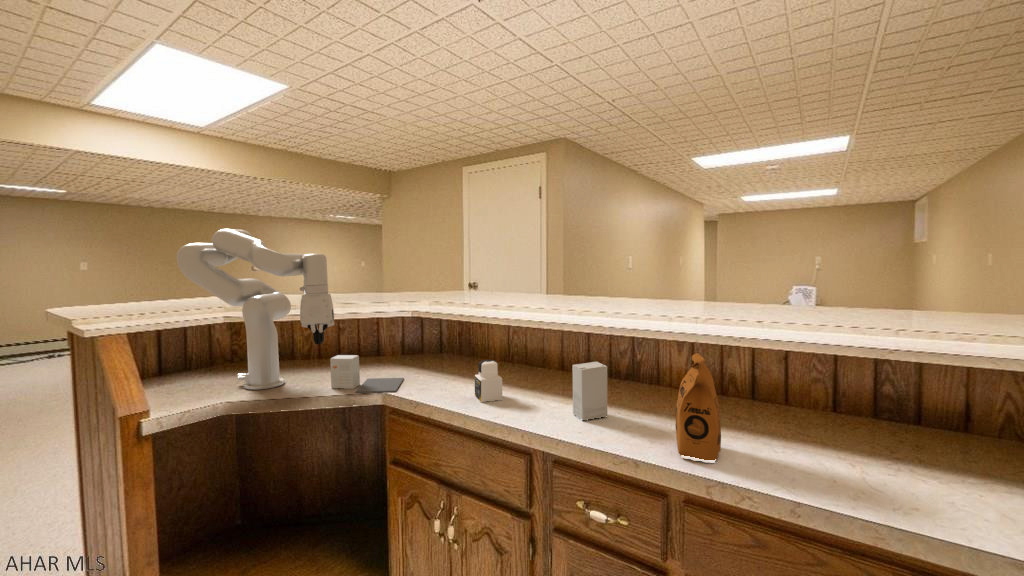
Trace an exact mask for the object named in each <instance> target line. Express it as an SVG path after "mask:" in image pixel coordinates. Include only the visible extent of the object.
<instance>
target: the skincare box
mask: <svg viewBox="0 0 1024 576" xmlns="http://www.w3.org/2000/svg"><path fill="white" fill-rule="evenodd" d="M573 414H574V415H576V416H577V417H579V418H580V419H582V420H587V419H593V420H595V419H594V418H599V419H602V418H601V417H605V418H607V417H608V366H607V365H605V364H603V363H600V362H599V361H592V362H591V361H590V362H586V363H585V362H583V363H576V364H572V415H573ZM574 415H573V416H574ZM576 416H575V417H576ZM606 416H607V417H606ZM577 417H576V418H577ZM579 418H578V419H579ZM580 419H579V420H580ZM587 421H588V420H587Z"/></svg>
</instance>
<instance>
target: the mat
mask: <svg viewBox="0 0 1024 576" xmlns="http://www.w3.org/2000/svg"><path fill="white" fill-rule="evenodd" d="M404 380H405V378H404V377H385V378H384V377H379V378H377V377H376V378H375V377H374V378H370V377H369V378H367V379H366V380H365V381H364V382H363V383H362V384H361V385H360V386H359V387H358V389H356V391H355V393H356V394H362V393H363V394H365V393H366V394H369V393H375V394H376V393H397V391H398V390H399V388H400V386H401V385H400V384H402V383H403V381H404ZM398 387H399V388H398Z"/></svg>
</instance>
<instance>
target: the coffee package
mask: <svg viewBox="0 0 1024 576" xmlns="http://www.w3.org/2000/svg"><path fill="white" fill-rule="evenodd" d="M691 360H692V362H693V364H692V365H691V368H690V369H689V370H688V371H687V373H686V374H685V375H684V377H683V378H682V380H681V382H680V385H679V391H678V396H677V399H676V400H677V401H676V406H675V407H676V408H675V415H674V416H675V436H676V445H677V451H678V455H679V454H680V455H684V456H690V457H695V458H699V459H704V460H715V459H717V460H718V458H719V453H720V452H721V449H722V447H721V446H722V445H721V444H722V429H721V427H722V426H721V425H722V424H721V414H720V406H719V400H718V395H717V391H716V387H715V382H714V378H713V376H712V373H711V371H710V369H709V368H708V367H707V365H706V363H705V361H706V359H705V358H704V357H703V356H701V354H700V353H699V352H695V353H694V354H692V356H691ZM680 455H679V456H680Z"/></svg>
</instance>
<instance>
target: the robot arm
mask: <svg viewBox="0 0 1024 576" xmlns="http://www.w3.org/2000/svg"><path fill="white" fill-rule="evenodd" d="M237 259H240V260H242V261H244V262H245V261H246V262H249V263H251V265H252V266H254V267H255V268H256V269H258V270H260V271H262V272H266V273H267V274H271V275H275V276H278V277H295V276H296V277H297V276H303V285H302V286H301V287H299V291H300V292H303V294H301V298H300V307H299V322H300V323H301V327H302V328H307V329H309V330H310V332H311V333H312V334H313V342H314V344H315V345H322V344H323V343H324V342H325V331H326V330H327V328H330V327H333V326H335V312H334V303H333V298H332V295H331V293H329V283H328V279H329V278H328V277H329V276H328V262H327V261H328V260H327V256H326V255H325V254H324V253H307V254H305V253H304V254H303V253H281V252H277V251H275V250H272V249H270V248H267V245H266V243H265V241H263V240H262V239H260V238H256V237H254V235H253V234H252V233H251V232H249V231H247V230H244V229H236V228H235V229H234V228H221V229H219V230H217V231H215V232H214V233H213V235H212V237H211V242H193V243H192V242H191V243H187V244H185V245H182V246H181V247H180V248H179V249H178V251H177V253H176V263H177V266H178V269H179V271H180V273H182V274H183V276H184V277H185V278H186V279H187V280H188V281H190V282H192V283H193V284H195V285H197V286H198V287H200V288H202V289H204V290H206V291H207V292H209V293H210V294H212V295H213V296H214V297H216V298H218V299H220V300H221V301H223V302H224V303H226V304H228V305H229V306H231V307H242V308H241V314H242V317H243V318H242V319H243V322H244V325H245V326H244V327H245V331H246V332H245V333H246V346H247V347H246V351H247V373H237V376H236V377H237V378H236V379H237V381H245V382H244V383H243V388H244V389H246V390H252V391H253V390H254V391H255V390H267V389H273V388H276V387H279V386H282V385H283V384H285V379H284V378H283V377H280V361H279V357H280V356H279V335H278V329H277V326H276V325H275V322H274V321H275V320H280V319H283V318H285V317H286V316H288V315H289V313H290V312H291V309H292V305H291V301H290V299H289V298H288V296H286V294H284V293H283V292H281V291H280V290H278V289H276V288H275V287H272V285H270V284H268V283H266V282H264V281H262V280H261V279H257V278H253V277H252V278H250V277H249V278H237V277H234V276H233V275H231V274H229V273H228V272H226V271H224V270H223V269H220V268H218V267H222V266H225V265H228V264H230V263H232V262H234V261H236V260H237Z"/></svg>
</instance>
